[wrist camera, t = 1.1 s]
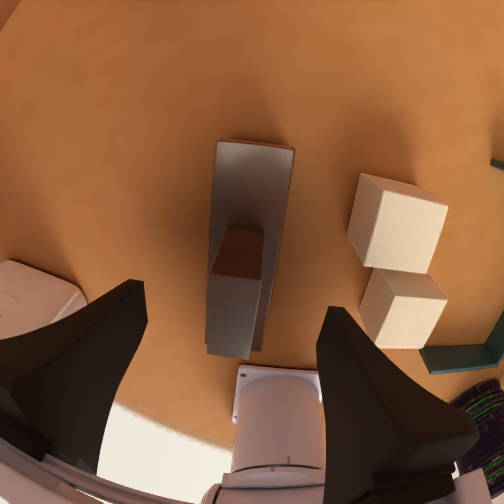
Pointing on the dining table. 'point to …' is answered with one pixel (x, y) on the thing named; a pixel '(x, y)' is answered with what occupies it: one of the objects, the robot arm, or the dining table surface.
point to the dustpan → (467, 347)
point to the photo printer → (33, 299)
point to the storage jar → (485, 433)
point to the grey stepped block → (244, 242)
